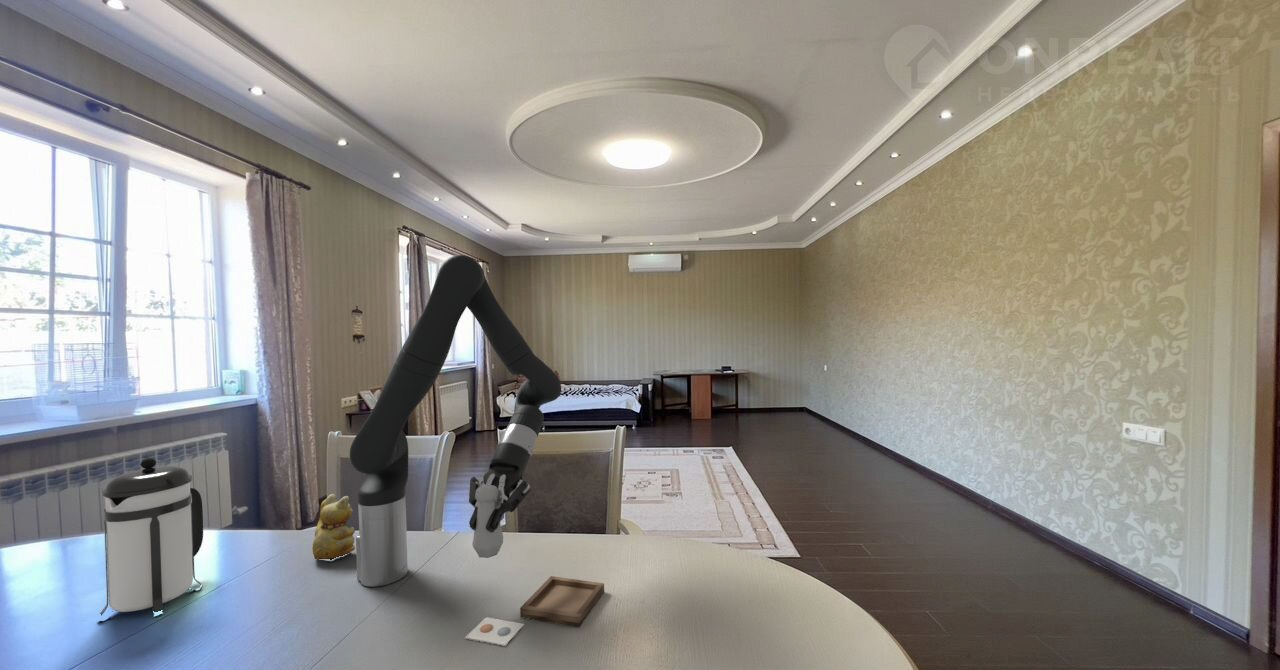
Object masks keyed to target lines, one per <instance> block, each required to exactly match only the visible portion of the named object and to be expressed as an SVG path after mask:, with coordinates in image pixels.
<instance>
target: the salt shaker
mask: <svg viewBox="0 0 1280 670" xmlns="http://www.w3.org/2000/svg"><path fill="white" fill-rule="evenodd" d="M497 497H498V488H497V487H496V486H494V485H485V484H484V485H483V486H481V487H479V488H477V490H476V493H475V498H476V500H477V501H479V504H478V513H477V521H476V530H473V538H472V548H473V549H474V551H475V553H476V554H477V556H478V558H484V559H489V558H492V557H495V556H498V553H499V552H500V550H501V547H502V546H503V543H504V533H503V530H502V524H501V522H500V523H499V526H498V528H497V529H496V530H494V532H493V533H492V532H489V531H488V530H486V525H487V522H488V520H489V518H490V515H491V514H492V512H493V510H495V504H496V500H497Z"/></svg>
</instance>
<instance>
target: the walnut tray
mask: <svg viewBox="0 0 1280 670" xmlns="http://www.w3.org/2000/svg"><path fill="white" fill-rule="evenodd" d="M604 594H605V583H604V582H597V581H591V580H584V579H583V580H581V579H576V578H575V579H574V578H567V577H562V576H561V577H559V576H554V575H550V576H549V578H547V580H546V581H545V582H544V583H542V585H541V586H539V588H538V589H537V590H536V591H535V592H534V593H533V594H532V595H531V596H530V597H529V598H528V599H527V600H526V601H525V602H524V603H523V604H522V606H520V607H519V615H520V617H524V618H523V619H526V618H529V619H528V620H532V619H534V620H533V621H539V622H544V623H545V622H546V623H549V622H550V623H551V624H555V623H557V625H561V624H562V626H567V627H568V626H569V627H574V628H580V627H581V626H582V624H583V623H584V622H585V620H586V619H587V617H588V616H589V615H590V613H591V612H592V611H593V609H594V608H595V606H596V605H597V603H598V602H599V600H600V599H601V598H602V596H604Z"/></svg>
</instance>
